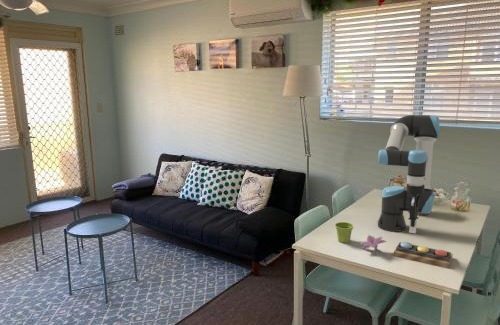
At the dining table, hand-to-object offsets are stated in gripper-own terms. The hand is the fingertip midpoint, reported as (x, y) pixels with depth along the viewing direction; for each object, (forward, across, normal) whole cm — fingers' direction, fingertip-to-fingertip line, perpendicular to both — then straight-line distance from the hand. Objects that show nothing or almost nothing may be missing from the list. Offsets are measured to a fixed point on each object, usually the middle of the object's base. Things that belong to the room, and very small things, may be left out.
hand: (412, 232), depth 176 cm
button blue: (+8, 0, +2) cm, 8 cm away
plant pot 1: (+11, 0, +33) cm, 35 cm away
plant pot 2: (+12, +65, +7) cm, 66 cm away
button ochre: (+8, -1, -5) cm, 10 cm away
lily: (+11, -7, +16) cm, 21 cm away
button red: (+8, -1, -13) cm, 15 cm away
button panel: (+11, -1, -5) cm, 12 cm away
